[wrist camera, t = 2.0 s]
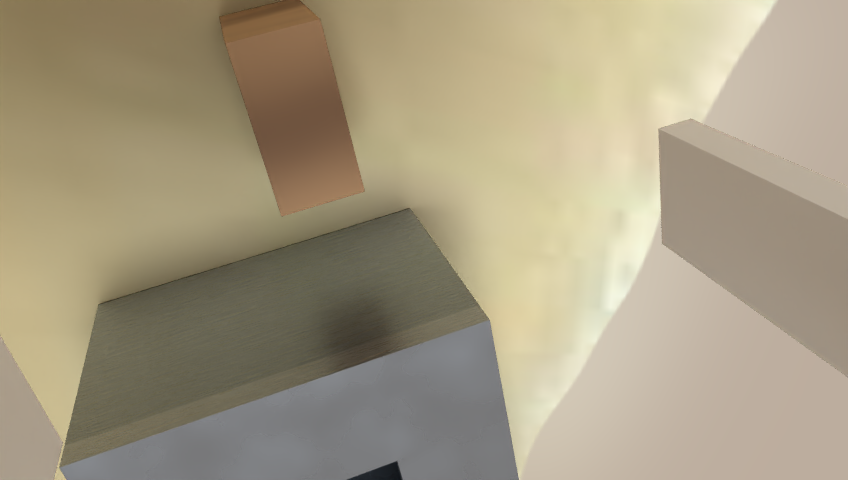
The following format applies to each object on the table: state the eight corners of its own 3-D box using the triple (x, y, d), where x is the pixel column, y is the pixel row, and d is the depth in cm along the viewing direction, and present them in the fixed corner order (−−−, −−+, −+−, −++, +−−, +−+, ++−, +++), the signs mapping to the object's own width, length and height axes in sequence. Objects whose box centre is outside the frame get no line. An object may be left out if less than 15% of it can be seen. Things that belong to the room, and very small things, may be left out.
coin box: (98, 304, 30) (59, 467, 21) (409, 208, 32) (489, 320, 23) (233, 575, 38) (245, 770, 30) (472, 483, 41) (548, 640, 32)
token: (218, 16, 27) (225, 43, 21) (296, -3, 27) (320, 18, 22) (266, 161, 29) (281, 216, 24) (335, 141, 30) (364, 191, 25)
